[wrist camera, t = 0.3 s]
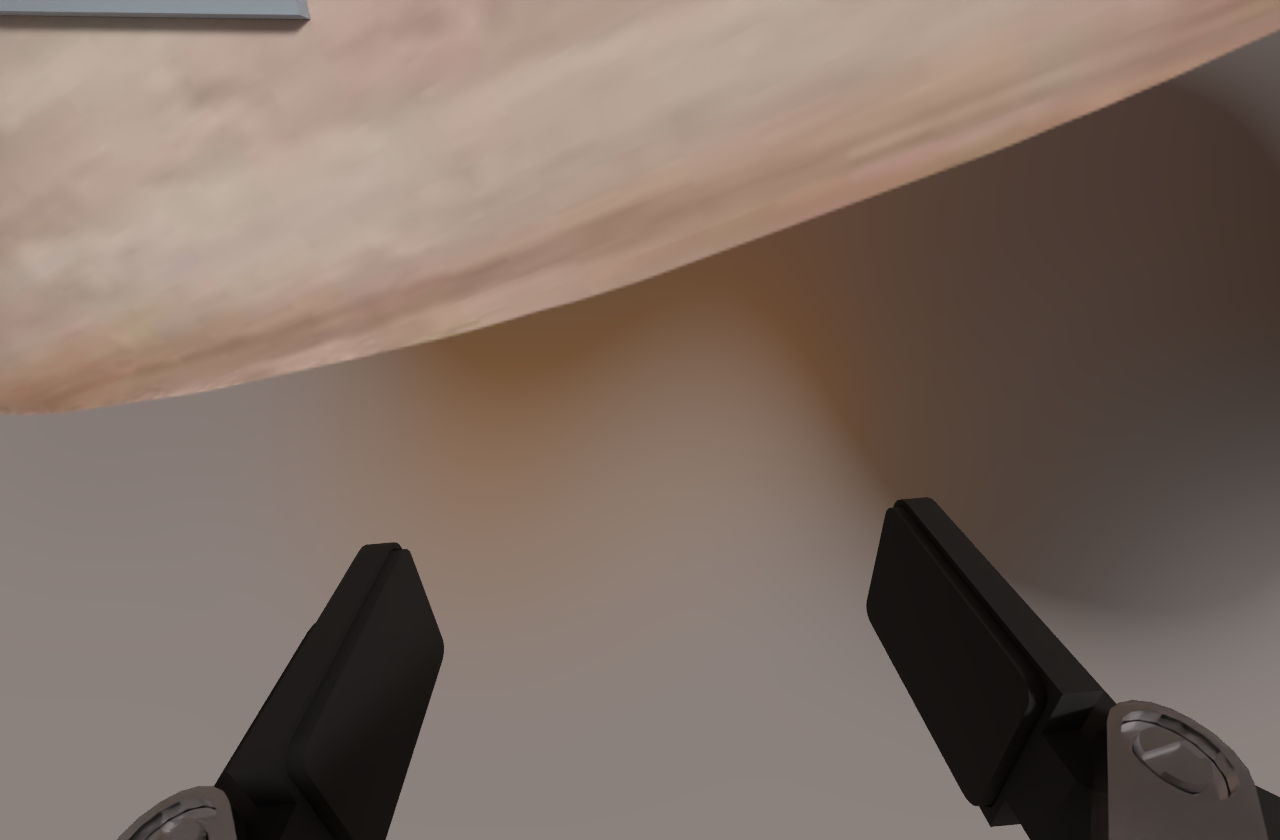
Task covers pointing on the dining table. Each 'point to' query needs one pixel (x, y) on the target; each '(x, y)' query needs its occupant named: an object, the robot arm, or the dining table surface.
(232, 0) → the carrier board
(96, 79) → the dining table surface
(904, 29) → the dining table surface
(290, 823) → the robot arm
